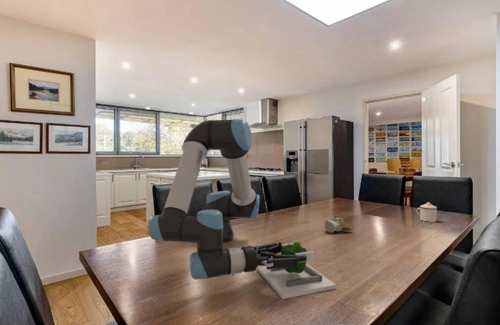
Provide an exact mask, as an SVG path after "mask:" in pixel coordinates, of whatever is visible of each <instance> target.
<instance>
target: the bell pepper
mask: <svg viewBox="0 0 500 325" xmlns="http://www.w3.org/2000/svg"><path fill="white" fill-rule="evenodd" d="M293 243H294V244H293V245H291V243H287V244H288V245H286V247H282V249H281V252H280V255H295V254H296V253H303V252H308V250H307V249H306V248H305V247H303V246H302V242H300V241H294V242H293ZM306 264H307V262H300V263H298V267H287V268H284V269H285V270H286V272H288V273H293V272H295V273H302V272H303V270H304V269H305V266H306Z"/></svg>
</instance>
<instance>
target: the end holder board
mask: <svg viewBox="0 0 500 325" xmlns="http://www.w3.org/2000/svg"><path fill="white" fill-rule="evenodd" d="M257 272H258V273H259V274H260V276H262V277H263V278H264V280H265V281H266V282H267V284H269V285H270V286H271V288H272V289H273V290H274V291H275V292H276V294H278V296H279V297H280V298H281V299H282V300H285V299H289V298H295V297H299V296H305V295H311V294H315V293H321V292H326V291H329V290H334V289H335V290H336V288H337V284H336V283H334V282H333V281H331V280H330V279H329V278H327V277H326V276H325V275H323V274H321V273H320V272H319V271H318V270H316V269H315V268H313V267H312V266H310V265H309V264H308V263H306V266H305V269H304V270H303V272H302V273H295V272H293V273H288V272H286V270H285V269H284V268H273V269H269V270H268V269H266V266H262V265H261V266H257Z"/></svg>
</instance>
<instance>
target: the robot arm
mask: <svg viewBox="0 0 500 325" xmlns="http://www.w3.org/2000/svg"><path fill="white" fill-rule="evenodd" d="M252 146H253V137H252V131H251V127H250V124H249V122H248V121H246V120H245V119H237V118H233V119H216V120H215V119H214V120H213V119H207V120H204V121H201V122H200V123H198V124H197V125H195V126H194V127H193V128H192V129H191V130H190V131H189V132H188V134H187V135H186V136H185V139H184V141H183V143H182V145H181V150H182V154H181V157H180V161H179V164H178V167H177V170H176V172H175V175H174V179H173V181H172V184H171V187H170V189H169V193H168V196H167V198H166V202H165V204H164V207H163V210H162V213H161V214H157V215H154V216H153V217H152V218H151V219H150V221H149V223H148V234H149V235H148V236H150V238H151V239H152V240H155V241H159V242H160V241H161V242H165V243H166V242H174V243H175V242H178V243H179V242H180V243H181V242H182V243H193V244H194V243H196V245H197V246H196V251H195V252H192V253H191V254H190V256H189V270H190V276H191V278H192V279H193V280H203V279H204V280H205V279H206V280H208V279H211V278H218V277H222V276H230V275H231V276H235V275H237V274H242V273H251V272H255V271H256V270H257V269H258V267H259V266H261V267H262V266H266V269H268V270H269V269H273V268H287V267H298V263H300V262H306V263H308V262H313V261H315V251H312V250H311V251H307V252H303V253H296V254H295V255H281V249H282V247H286V245H288V244H289V243H284V244H282V242H281V241H278V242H274V243H269V244H263V245H257V246H253V245H246V246H241V247H240V246H237V247H228V248H224V243H227V242H229V241H231V240H233V239H234V230H233V227H232V224H231V219H232V218H233V219H247V220H251V219H257V217H258V215H259V208H260V200H261V199H260V197H261V196H260V194H258V193H257V194H256V191H255V189H253V188H252V184H251V179H250V178H251V177H250V172H249V165H248V159H247V157H248V156H247V154H248V153H249V150H251V149H252ZM209 151H219V152H220V156H221V157H222V158H224V159H225V161H226V166H227V170H228V171H227V172H228V175H229V178H230V179H229V180H230V184H231V187H232V193H231V191H230V190H221V191H213V192H210V193H208V194H207V195H206V202H205V203H206V209H202V210H200V211H198V212H197V214H196V216H189V215H188V213H189V208H190V205H191V201H192V198H193V195H194V191H195V187H196V184H197V180H198V177H199V175H200V174H199V173H200V171H201V167H202V164H203V160H204V158H206V156H207V155H208V152H209ZM294 243H295V242H293V243H292V242H291V243H290V244H291V245H293V244H294Z"/></svg>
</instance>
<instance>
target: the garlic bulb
mask: <svg viewBox="0 0 500 325" xmlns="http://www.w3.org/2000/svg"><path fill="white" fill-rule="evenodd" d="M324 229H325V231H326V232H327V233H328V234H330V233H331V234H333V233H335V231H336V233H340V232H349V231H351V230H353V229H354V227H350V226H348V225H345V221H344V220H343V218H339V217H338V216H337V215H334V216H333V217H332V218H331V220H328V219H325V221H324Z"/></svg>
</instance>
